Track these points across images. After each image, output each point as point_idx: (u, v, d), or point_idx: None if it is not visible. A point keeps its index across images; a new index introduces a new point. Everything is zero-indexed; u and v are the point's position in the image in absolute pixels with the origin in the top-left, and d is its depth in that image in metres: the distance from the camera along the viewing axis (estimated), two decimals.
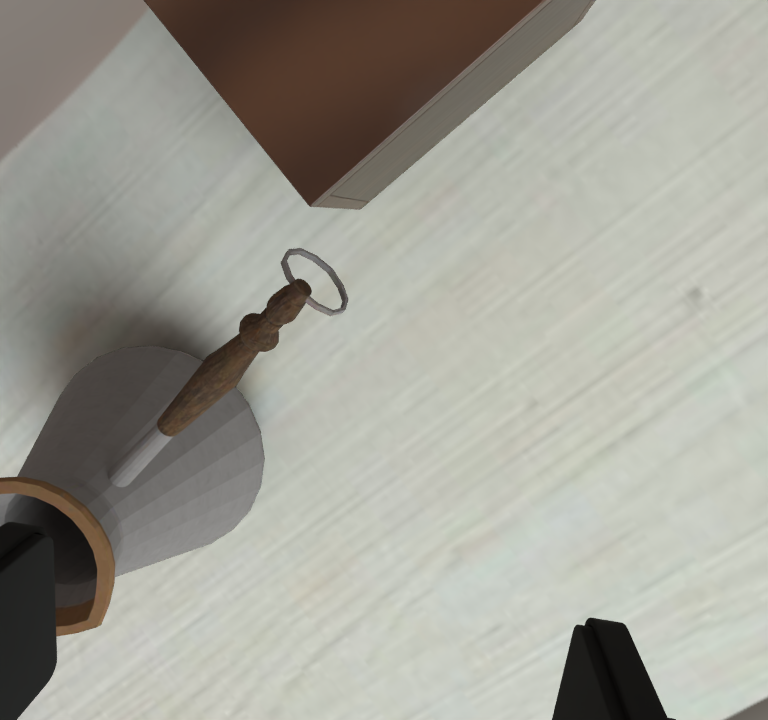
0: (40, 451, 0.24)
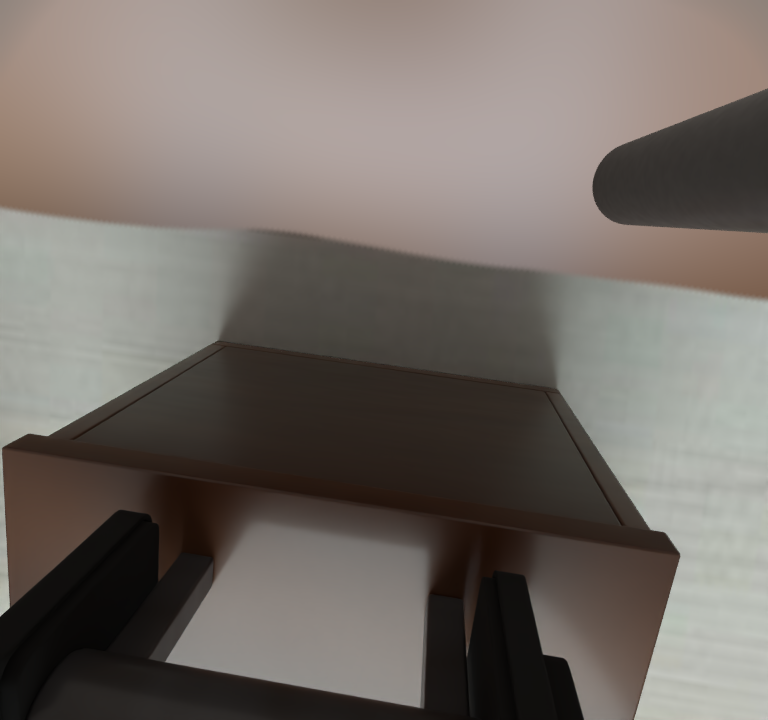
0: None
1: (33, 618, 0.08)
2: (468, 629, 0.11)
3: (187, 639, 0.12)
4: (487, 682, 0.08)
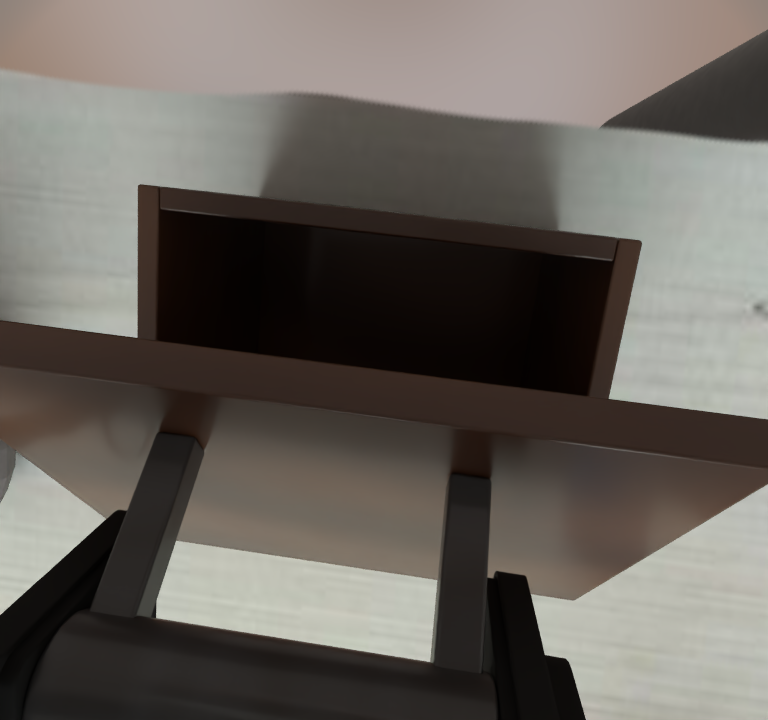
0: None
1: (31, 618, 0.08)
2: (497, 492, 0.10)
3: (199, 475, 0.12)
4: None
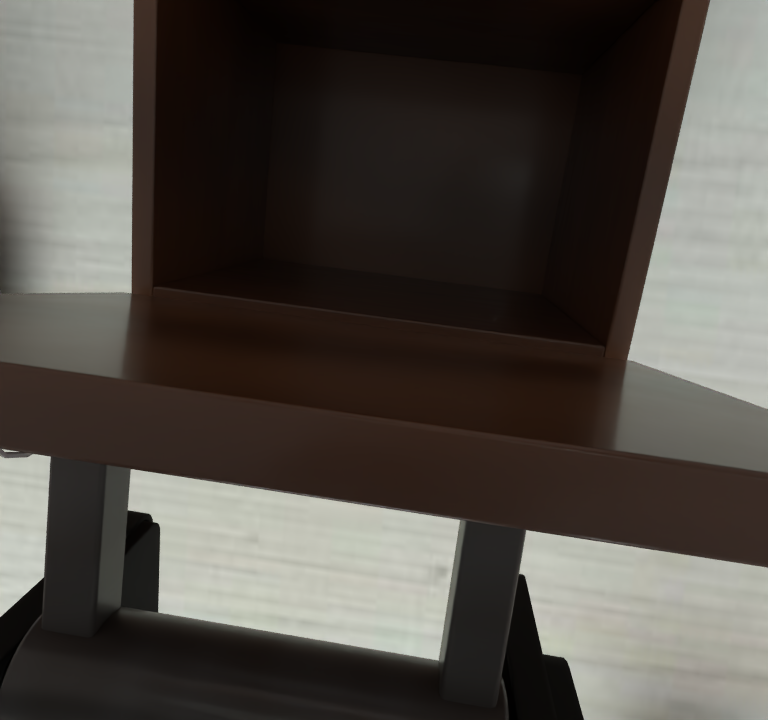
0: None
1: (34, 618, 0.08)
2: None
3: None
4: None
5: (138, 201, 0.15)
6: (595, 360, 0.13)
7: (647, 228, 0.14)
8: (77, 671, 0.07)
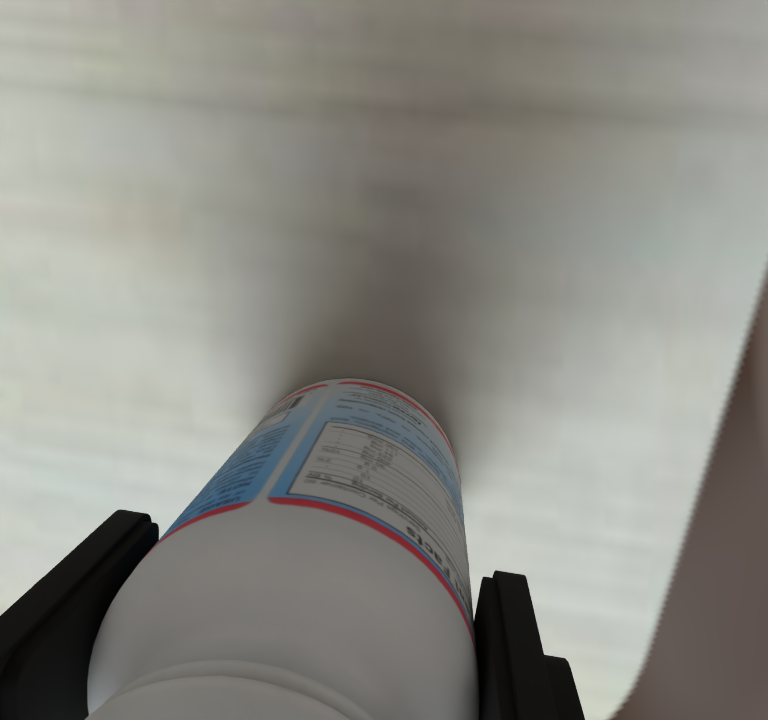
0: None
1: (32, 618, 0.08)
2: None
3: None
4: (488, 682, 0.08)
5: None
6: None
7: None
8: None
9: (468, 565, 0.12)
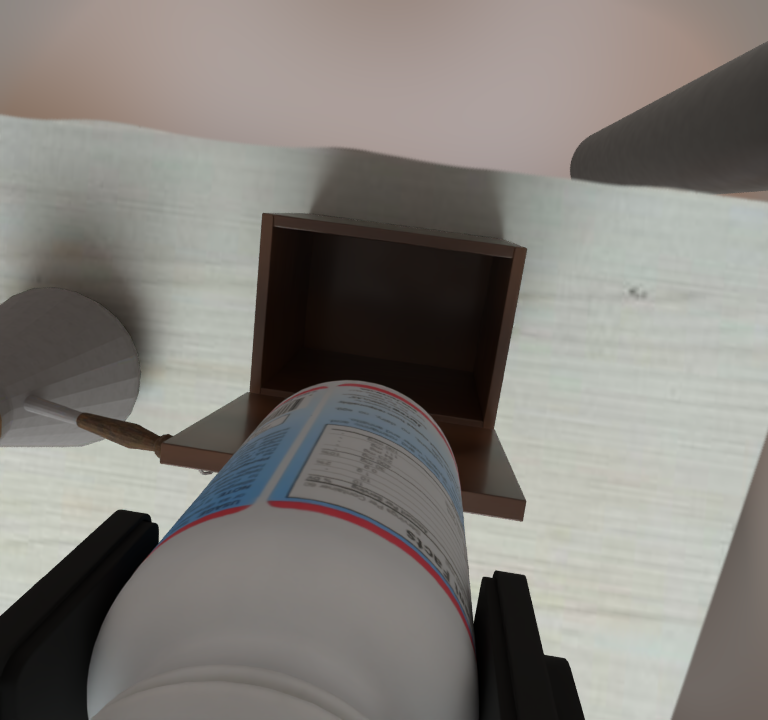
0: None
1: (32, 618, 0.08)
2: None
3: None
4: (488, 682, 0.08)
5: (255, 348, 0.31)
6: (471, 432, 0.29)
7: (500, 367, 0.30)
8: None
9: (468, 568, 0.12)
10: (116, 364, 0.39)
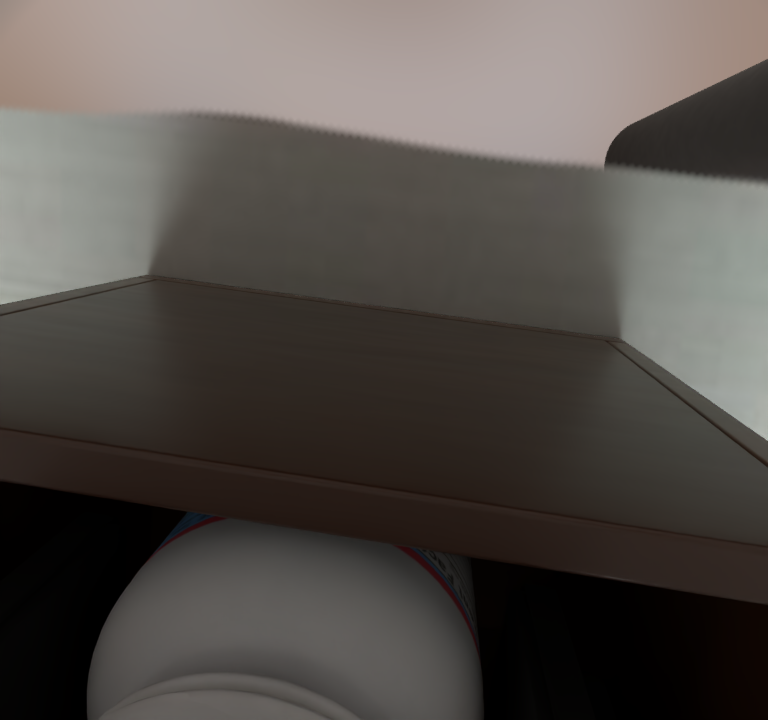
0: None
1: None
2: None
3: None
4: (523, 701, 0.08)
5: None
6: None
7: None
8: None
9: (471, 570, 0.12)
10: None
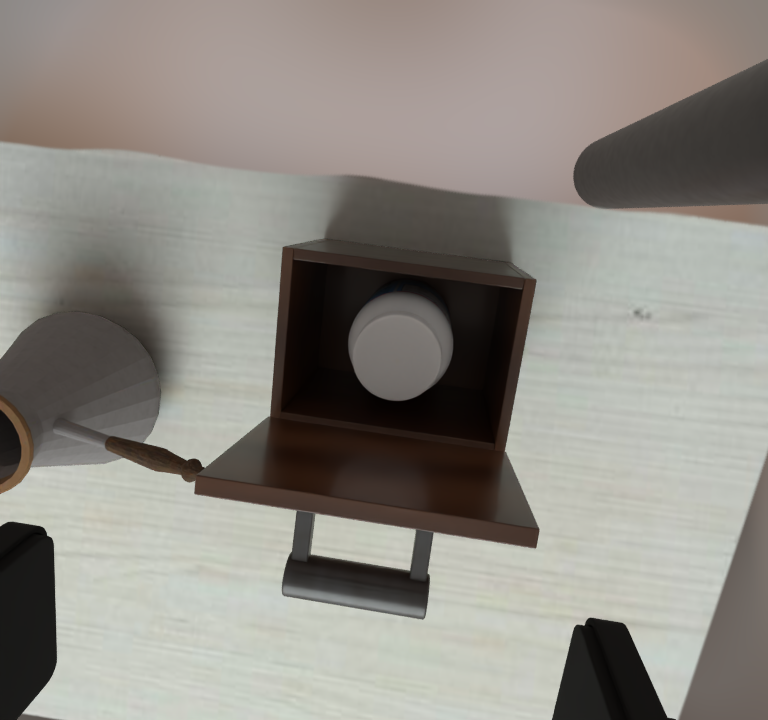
0: (26, 374, 0.35)
1: None
2: None
3: None
4: None
5: (276, 374, 0.32)
6: (484, 455, 0.30)
7: (510, 393, 0.31)
8: (305, 570, 0.24)
9: None
10: (139, 385, 0.40)
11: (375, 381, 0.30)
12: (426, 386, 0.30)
